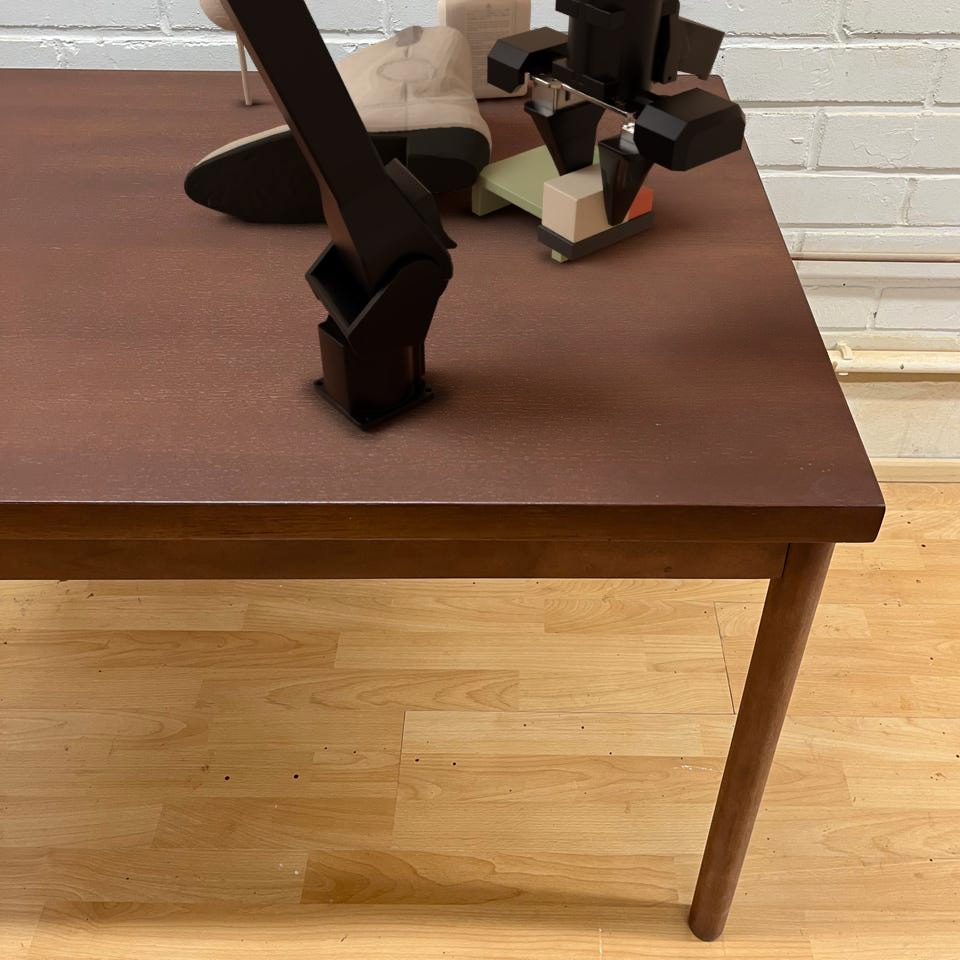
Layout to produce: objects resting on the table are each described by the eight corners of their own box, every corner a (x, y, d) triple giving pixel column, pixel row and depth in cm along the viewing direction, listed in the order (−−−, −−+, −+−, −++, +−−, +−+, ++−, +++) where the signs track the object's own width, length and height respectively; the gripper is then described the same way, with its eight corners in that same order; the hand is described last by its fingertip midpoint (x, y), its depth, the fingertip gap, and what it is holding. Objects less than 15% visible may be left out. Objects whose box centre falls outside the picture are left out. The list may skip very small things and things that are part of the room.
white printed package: (522, 84, 116) (527, -32, 108) (531, 98, 113) (537, -21, 105) (434, 90, 114) (432, -28, 106) (441, 104, 111) (439, -16, 103)
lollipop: (258, 86, 115) (238, -58, 105) (294, 105, 111) (277, -44, 101) (204, 102, 111) (177, -46, 101) (239, 122, 107) (215, -30, 97)
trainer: (571, 261, 69) (575, 201, 66) (537, 240, 71) (540, 182, 68) (653, 226, 73) (661, 168, 70) (618, 208, 75) (624, 151, 72)
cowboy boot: (497, 133, 85) (484, 9, 102) (167, 132, 84) (209, 6, 100) (493, 229, 92) (481, 98, 109) (189, 230, 90) (225, 97, 107)
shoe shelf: (560, 263, 86) (564, 203, 82) (471, 211, 93) (471, 154, 89) (641, 227, 91) (649, 169, 87) (551, 181, 97) (554, 125, 94)
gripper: (829, -11, 59) (775, 231, 69) (608, -77, 70) (591, 141, 80) (698, 28, 54) (662, 283, 64) (482, -50, 65) (481, 179, 75)
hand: (597, 214), depth 71 cm, fingers closed on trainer, 3 cm apart
